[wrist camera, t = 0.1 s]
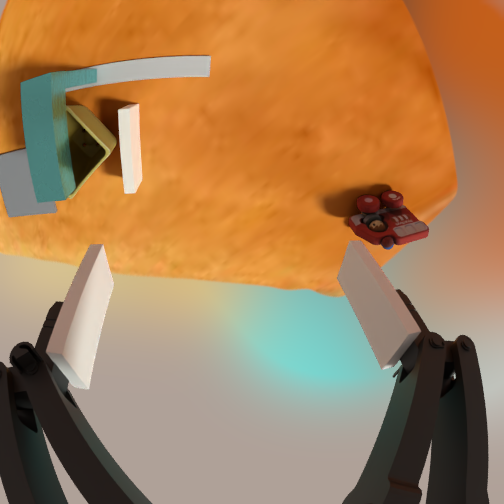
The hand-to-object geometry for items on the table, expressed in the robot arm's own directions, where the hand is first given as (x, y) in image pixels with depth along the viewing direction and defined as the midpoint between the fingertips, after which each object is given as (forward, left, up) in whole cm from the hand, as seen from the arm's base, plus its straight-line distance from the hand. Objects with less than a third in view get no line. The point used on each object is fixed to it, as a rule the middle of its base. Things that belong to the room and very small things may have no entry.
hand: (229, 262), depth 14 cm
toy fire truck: (+11, +29, -28) cm, 42 cm away
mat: (+5, -33, -28) cm, 44 cm away
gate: (-4, -18, -27) cm, 33 cm away
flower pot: (-1, -18, -28) cm, 34 cm away
